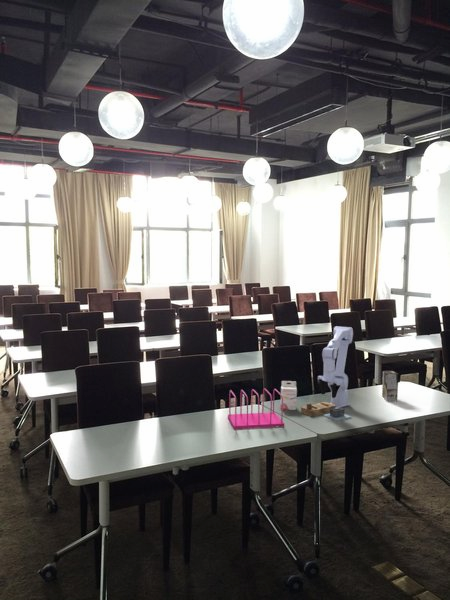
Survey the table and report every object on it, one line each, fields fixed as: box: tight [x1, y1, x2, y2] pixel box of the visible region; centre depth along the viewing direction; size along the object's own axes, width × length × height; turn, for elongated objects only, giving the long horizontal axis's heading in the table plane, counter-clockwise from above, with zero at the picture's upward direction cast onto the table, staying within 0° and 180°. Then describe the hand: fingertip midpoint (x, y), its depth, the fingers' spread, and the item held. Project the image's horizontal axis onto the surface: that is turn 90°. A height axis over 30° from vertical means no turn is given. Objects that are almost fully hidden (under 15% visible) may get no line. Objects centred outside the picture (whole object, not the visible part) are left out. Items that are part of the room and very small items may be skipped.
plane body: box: [300, 401, 336, 417], centre depth 267 cm, size 18×8×5 cm, turn 123°
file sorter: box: [227, 388, 285, 430], centre depth 249 cm, size 17×25×16 cm
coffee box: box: [381, 370, 399, 403], centre depth 290 cm, size 9×6×16 cm
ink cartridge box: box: [280, 380, 298, 411], centre depth 272 cm, size 9×5×15 cm, turn 84°
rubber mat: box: [322, 412, 352, 422], centre depth 259 cm, size 10×10×1 cm
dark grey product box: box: [329, 407, 346, 418], centre depth 258 cm, size 6×4×4 cm
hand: (328, 395), depth 264 cm, fingers open, 7 cm apart
